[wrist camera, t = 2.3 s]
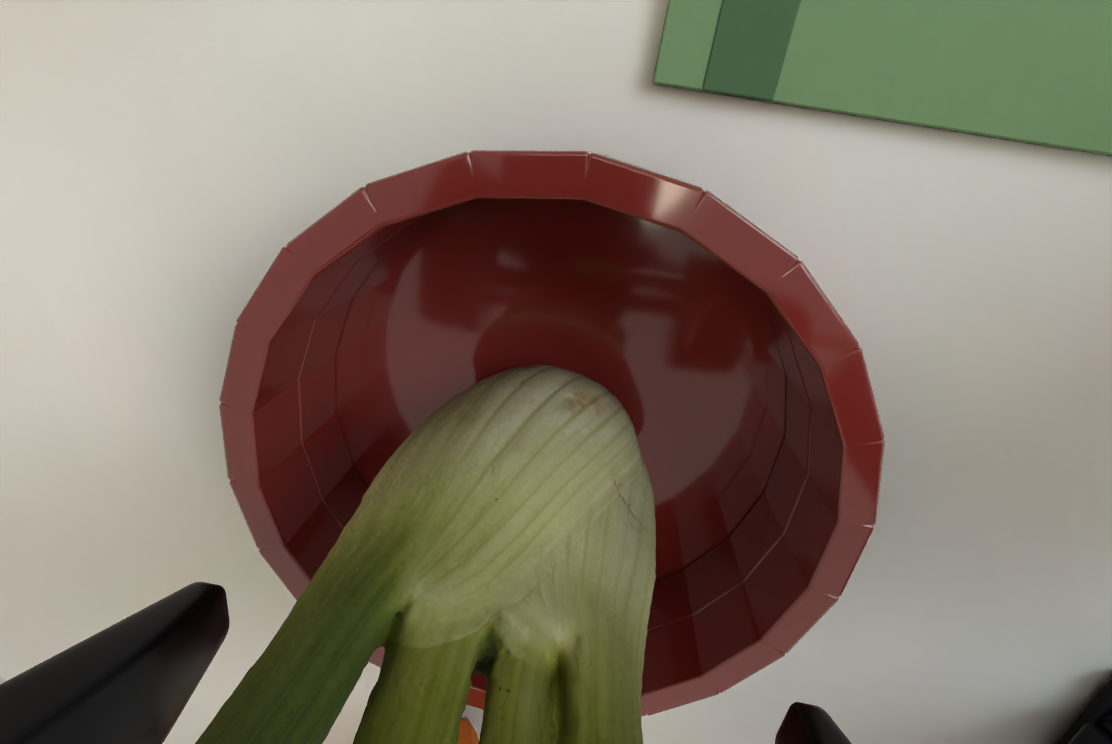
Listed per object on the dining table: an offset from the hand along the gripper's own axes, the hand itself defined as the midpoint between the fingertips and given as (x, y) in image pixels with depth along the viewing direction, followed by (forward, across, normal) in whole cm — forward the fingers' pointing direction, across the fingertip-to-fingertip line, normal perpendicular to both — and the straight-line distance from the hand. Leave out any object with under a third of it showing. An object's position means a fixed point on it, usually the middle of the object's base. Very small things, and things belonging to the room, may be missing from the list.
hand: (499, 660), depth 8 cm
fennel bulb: (+8, 0, 0) cm, 8 cm away
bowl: (+8, 0, 0) cm, 8 cm away
